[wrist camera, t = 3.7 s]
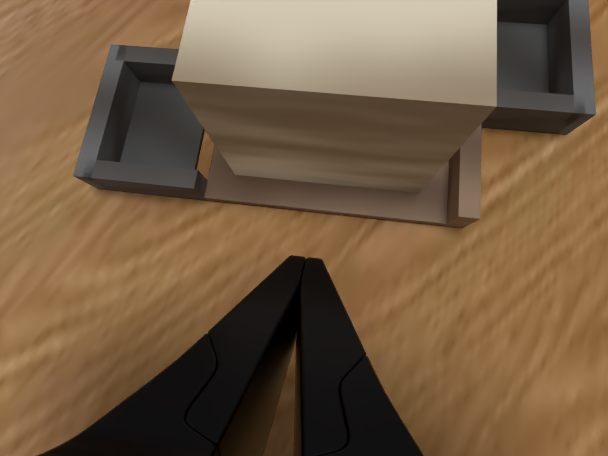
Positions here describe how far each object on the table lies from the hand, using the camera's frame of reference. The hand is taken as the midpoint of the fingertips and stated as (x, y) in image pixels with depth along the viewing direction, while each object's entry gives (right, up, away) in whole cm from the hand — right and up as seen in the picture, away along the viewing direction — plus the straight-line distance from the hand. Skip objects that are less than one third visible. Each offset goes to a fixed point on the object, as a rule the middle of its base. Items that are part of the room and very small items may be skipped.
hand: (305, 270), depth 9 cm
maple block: (+2, +10, +11) cm, 15 cm away
